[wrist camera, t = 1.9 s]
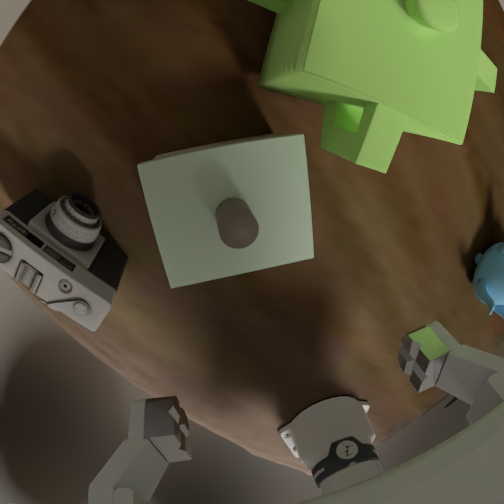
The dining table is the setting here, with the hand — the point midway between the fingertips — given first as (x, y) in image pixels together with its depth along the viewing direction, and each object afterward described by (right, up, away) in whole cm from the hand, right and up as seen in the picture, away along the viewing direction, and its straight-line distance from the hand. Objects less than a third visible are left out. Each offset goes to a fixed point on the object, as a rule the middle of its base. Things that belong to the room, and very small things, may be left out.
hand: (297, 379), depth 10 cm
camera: (-20, +7, +21) cm, 30 cm away
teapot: (+41, +2, +36) cm, 55 cm away
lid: (-3, +8, +16) cm, 18 cm away
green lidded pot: (+7, +27, +17) cm, 33 cm away
